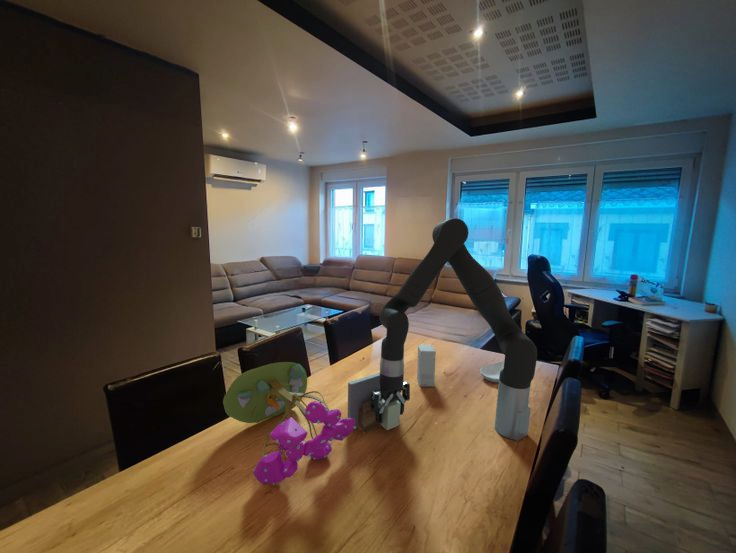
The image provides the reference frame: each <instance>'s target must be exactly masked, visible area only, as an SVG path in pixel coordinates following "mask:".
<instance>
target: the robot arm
mask: <svg viewBox="0 0 736 553" xmlns="http://www.w3.org/2000/svg"><path fill="white" fill-rule="evenodd" d="M431 237H432V241H433V245H432V247H431V248H430V250H429V251H428V253H427V254H426V255H425V256H424V257H423V259H422V260H421V261H420V262H419V264H418V265H416V267H415V268H414V269H413V270H412V271H411V273H410V274H409V275H408V276H407V278H406V279H405V281H404V282H403V284H402V286H400V289H399V290H398V292H397V293H396V294H395V295H394V296H392V297H391V298H390V300H388V301H387V302H386V304H385V305H383V307H382V308H381V310H380V313H379V323H380V324H381V325H382V326H383V327H384V328H385V329H386V334H385V337H384V338H383V339H381V340H382V341H381V345H380V360H379V361H380V362H379V373H380V380H379V383H380V391H379V392H376V393H375V392H374V391H373V392H372V393H371V404H370V409H371V410H372V411H373V412H374V413H376V417H375V419H376V421H377V422H379V423H380V424H381V423H382V420H383V410H384V408H385V407H387V405H388V403H390V402H392V401H395V400H396V399H398V401H399V402H401V407H400V416H402V415H404V412H405V405H406V402H407V401H410V399H411V397H410V396H411V386H410V385H411V384H410V383H408V382H407V381H405V378H404V376H405V375H404V374H405V342H406V340H407V337H408V333H409V328H410V322H409V318H408V316H407V314H406V312H407V310H408V309H410V308H415V307H417V305H419V304H420V301H421V300H422V298H423V297H424V296H425V294H426V293H427V291H428V290H429V288H430V286H431V285H432V284H433V282H434V280H435V279H436V277H437V276H438V275H439V274H440V272H441V270H442V269H443V268H444V267H445V265H446V264H447V263H449V265H450V267H451V268H452V270H453V272H454V273H455V275H456V277H457V278H458V281H459V283H460V284H461V285H462V288H464V290H465V293H466V295H467V296H468V297H469V299H470V301H471V303H472V304H473V305H474V306H473V307H475V308H476V310H477V311H478V313H479V314H480V315H481V317H482V318H483V319H484V320H485V321H486V322H487V323H488V325H489V326H490V328H491V330H492V332H493V334H494V336H495V338H496V340H497V343H498V345H499V348H500V350H501V352H502V353H503V355H504V359H505V360H504V359H503V360H504V368H503V369H502V370H501V371H500V376H499V382H498V388H497V396H496V397H497V399H496V408H495V409H496V410H495V420H494V429H495V431H496V432H497V434H499V435H500V436H502V437H505V438H507V439H510V440H514V441H516V442H519V441H521V440H522V439H523V438H525V437H526V436H528V435H529V427H530V419H531V410H532V409H531V407H530V406H529V402H530V401H529V400H530V394H531V392H530V391H531V386H532V384H531V383H532V382H533V380H534V378H535V372H536V366H537V360H538V350H537V349H538V348H537V346H536V345H535V342H534V341H533V340H531V339H530V338H529V337H528V336H527V334H525V333H524V331H523V330H522V329H521V328H520V326H519V325H518V324H517V322H516V321H515V320H514V319H513V316H512V315H511V313H510V310H509V308H508V305H507V302H506V299H505V297H504V295H503V292H502V291H501V289H500V287H499V286H498V284H497V282H496V280H495V279H494V278H493V276H492V275H491V274H490V273H489V271H487V269H485V268H484V267H483V266H482V265H481V264H480V263H479V262H478V261H477V260H476V259H475V258H474V257H473V256H472V254H471V253H470V251H469V249H468V248H467V246H466V244H465V242H467V239H468V237H469V228H468V225H467V223H466V222H465V221H464V220H462V219H461V218H459V217H458V218H454V217H453V218H447V219H445V220H444V221H441V222H439V223H438V224H436V225H435V227H433V230H432V234H431ZM382 399H383V400H384V401H385V402H384V403H383V402H382ZM380 405H381V407H380ZM379 407H380V408H379Z"/></svg>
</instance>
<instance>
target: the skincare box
mask: <svg viewBox="0 0 736 553" xmlns="http://www.w3.org/2000/svg"><path fill="white" fill-rule="evenodd" d="M436 352H437V351H436V349H435V348H434V346H433V344H418V345H417V374H416V375H417V376H416V379H417V382H418V385H419V387H423V388H424V387H433V388H434V387H435V383H436V382H435V379H436V378H435V377H436V375H435V374H436Z"/></svg>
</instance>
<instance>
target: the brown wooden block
mask: <svg viewBox="0 0 736 553" xmlns="http://www.w3.org/2000/svg"><path fill="white" fill-rule="evenodd" d="M397 400H398V399H397ZM370 404H371V400H370V401H368V402H365V403H363V407H362V408H360V409H358V427H357V428H358V429H359V430H360V431H361V432H362V433H363V434H365V433H367V432H371V431H373V430H375V429H377V428H379V427H381V426H382V425H381V424H380V423H378V422H377V421H376V419H375V417H376V413H374V412H373V411H372V410H371V409H370ZM382 427H383V426H382Z"/></svg>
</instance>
